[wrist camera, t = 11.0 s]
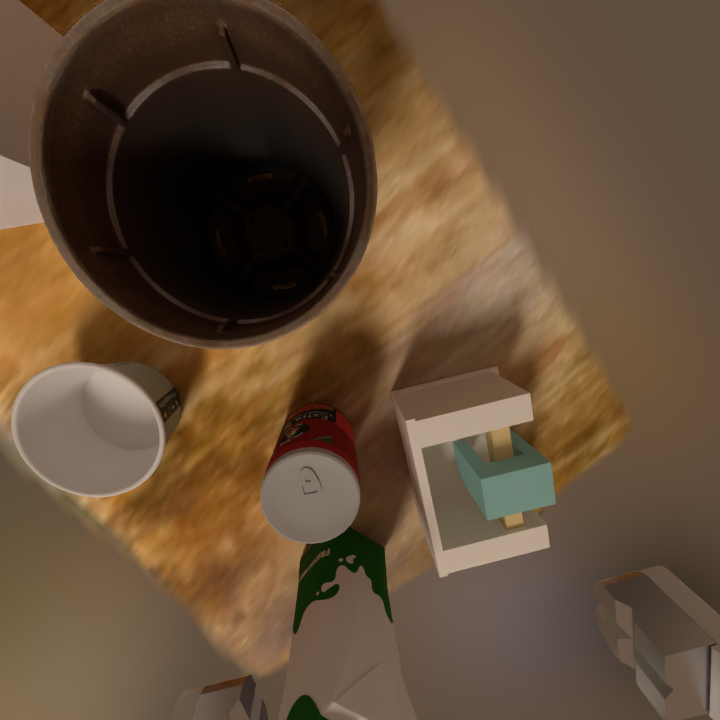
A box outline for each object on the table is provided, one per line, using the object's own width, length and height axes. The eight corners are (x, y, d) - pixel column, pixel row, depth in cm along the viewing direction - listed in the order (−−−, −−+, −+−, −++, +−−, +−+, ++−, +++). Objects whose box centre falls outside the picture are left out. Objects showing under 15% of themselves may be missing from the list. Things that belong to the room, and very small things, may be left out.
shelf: (390, 391, 36) (405, 420, 28) (495, 365, 36) (539, 387, 29) (419, 520, 40) (439, 577, 32) (514, 496, 40) (558, 547, 32)
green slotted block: (452, 441, 35) (480, 479, 28) (509, 427, 35) (551, 462, 28) (458, 475, 36) (487, 520, 29) (514, 462, 36) (555, 503, 29)
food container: (154, 327, 33) (112, 337, 27) (217, 431, 36) (191, 463, 30) (44, 378, 34) (-24, 400, 27) (114, 478, 36) (67, 519, 30)
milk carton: (333, 507, 39) (331, 734, 19) (396, 546, 40) (452, 791, 21) (288, 563, 40) (242, 830, 20) (351, 598, 41) (364, 877, 22)
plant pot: (148, 170, 30) (-54, 49, 15) (320, 106, 30) (303, -86, 14) (226, 342, 34) (131, 392, 18) (380, 285, 34) (419, 287, 18)
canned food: (333, 389, 36) (332, 434, 25) (366, 451, 38) (378, 518, 27) (267, 421, 36) (238, 479, 25) (303, 481, 38) (291, 560, 27)
